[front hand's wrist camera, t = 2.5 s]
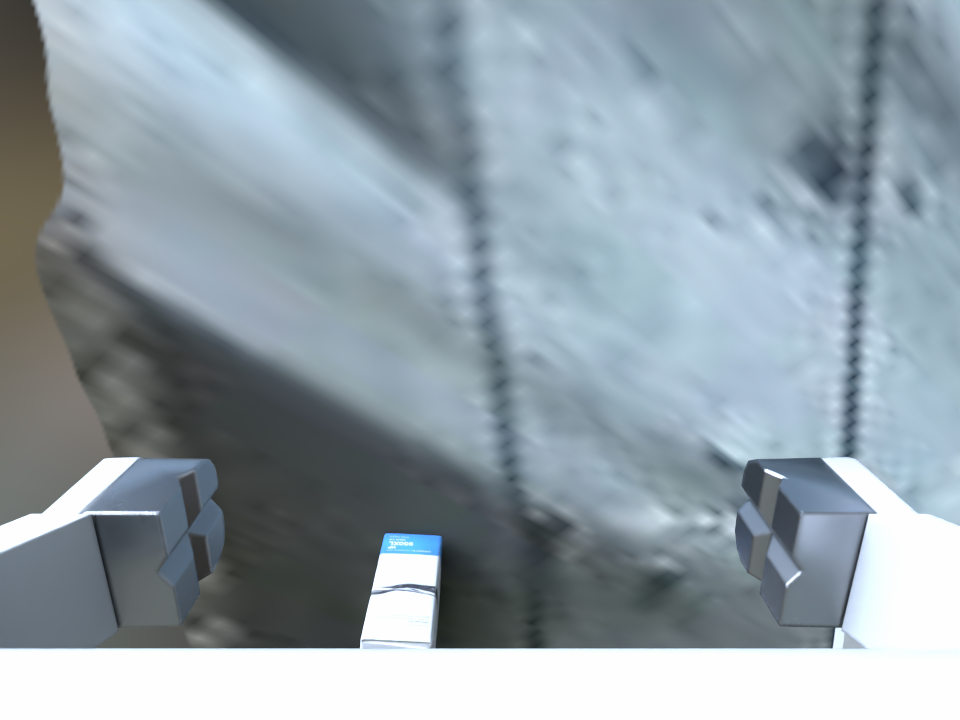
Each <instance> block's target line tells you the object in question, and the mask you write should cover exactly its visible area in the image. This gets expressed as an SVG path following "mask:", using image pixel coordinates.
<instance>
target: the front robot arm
mask: <svg viewBox="0 0 960 720" xmlns="http://www.w3.org/2000/svg"><path fill="white" fill-rule="evenodd" d="M218 486H219V485H218V480H217V475H216V470H215V466H214V465H213V464H212V462H211V461H210V460H209V459H170V458H141V457H132V458H109V459H103V460H102V461H101V462H100V463H99V464H98V465H97V466H96V467H94V468H93V469H92V470H91V471H90V472H89V473H88V474H87V475H85V476H84V477H83V478H82V479H81V480H80V481H79V482H77V483H76V484H75V485H74V486H73V487H72V488H71V489H70V490H68V491H67V492H66V493H65V494H64V495H63V496H62V497H61V498H59V499H58V500H57V501H56V502H55V503H54V504H53V505H52V506H50V507H49V508H48V509H47V510H46V511H45V512H44V513H43V514H30V515H27V516H25V517H22V518H20V519H17V520H15V521H12V522H10V523H7V524H5V525H2V526H0V720H960V526H958V525H955V524H953V523H950V522H948V521H945V520H943V519H940V518H938V517H935V516H933V515H930V514H917V513H916V512H915V511H914V510H913V509H912V508H911V507H910V506H908V505H907V504H906V503H905V502H904V501H903V500H902V499H901V498H900V497H898V496H897V495H896V494H895V493H894V492H893V491H892V490H891V489H889V488H888V487H887V486H886V485H885V484H884V483H883V482H882V481H880V480H879V479H878V478H877V477H876V476H875V475H874V474H873V473H871V472H870V471H869V470H868V469H867V468H866V467H865V466H864V465H862V464H861V463H860V462H859V461H858V460H856V459H853V458H849V457H840V458H791V459H756V460H750V461H748V463H747V465H746V467H745V470H744V474H743V479H742V485H741V486H742V487H743V489H744V490H745V492H746V493H747V495H748V497H749V499H748V501H747V502H746V503H745V504H744V505H743V506H742V507H741V508H740V509H739V510H738V511H737V519H736V527H735V534H736V544H737V550H738V553H739V556H740V559H741V562H742V564H743V565H744V567H745V569H746V571H747V573H749V574H750V575H752V576H754V577H755V578H757V579H759V580H760V581H762V583H761V589H760V595H761V596H762V598H763V600H764V601H765V603H766V605H767V606H768V608H769V610H770V611H771V613H772V615H773V616H774V618H775V620H776V621H777V623H778V625H779V626H790V627H827V628H842V629H841V631H842V632H844V633H845V634H847V635H848V636H849V637H851V638H852V639H853V640H855V641H856V642H857V643H859V644H860V645H861V646H863V647H864V648H866V649H150V648H149V649H148V648H143V649H142V648H140V649H137V648H136V649H135V648H129V649H127V648H126V649H124V648H120V649H119V648H117V649H113V648H110V649H107V648H106V649H105V648H102V649H101V648H98V649H96V647H97V646H99V645H100V644H101V643H103V642H104V641H106V640H107V639H108V638H110V637H111V636H112V635H114V634H115V633H116V632H118V628H133V627H168V626H181V625H182V623H183V621H184V620H185V618H186V616H187V615H188V613H189V611H190V610H191V608H192V606H193V605H194V603H195V601H196V600H197V598H198V596H199V595H200V589H199V583H198V581H200V580H201V579H203V578H205V577H206V576H208V575H210V574H211V573H213V571H214V569H215V567H216V565H217V564H218V562H219V560H220V557H221V552H222V548H223V544H224V530H225V525H224V518H223V511H222V510H221V509H220V508H219V507H218V506H217V505H216V504H215V503H214V502H213V501H212V499H211V497H212V495H213V493H214V492H215V490H216V489H217V487H218Z"/></svg>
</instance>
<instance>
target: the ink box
mask: <svg viewBox="0 0 960 720" xmlns="http://www.w3.org/2000/svg"><path fill="white" fill-rule="evenodd" d="M441 558H442V537H441V536H434V535H414V534H385V536H384V540H383V544H382V548H381V553H380V557H379V562H378V567H377V571H376V575H375V579H374V584H373V589H372V593H371V597H370V602H369V606H368V610H367V614H366V619H365V623H364V628H363V632H362V637H361V648H360V649H435V647H436V637H437V626H438V614H439V598H440V580H441Z"/></svg>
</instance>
